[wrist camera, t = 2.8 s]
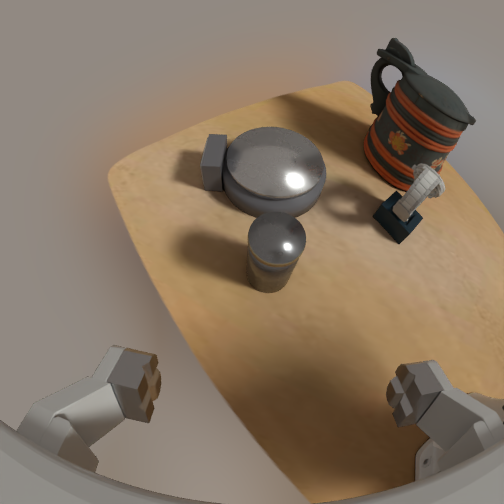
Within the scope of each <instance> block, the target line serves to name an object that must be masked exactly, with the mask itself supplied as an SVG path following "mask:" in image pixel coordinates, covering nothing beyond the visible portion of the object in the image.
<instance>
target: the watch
mask: <svg viewBox="0 0 504 504" xmlns="http://www.w3.org/2000/svg"><path fill="white" fill-rule="evenodd" d="M412 169H413V170H414V172H413V175H414V183H413V184H412V186H411V187H410V188H409V190H408V191H407V192H406V193H405V195H404V196H402V195H401V194H400V193H398V192H397V191H395V192H394V193H393V194H392V195H391V196H390V197H389V198H388V199H387V200H386V201H385V202H383V203H382V204H381V206H380V207H379V208H378V210H377V211H376V213H375V214H374V215H373V217H374V218H375V219H376V220H377V221H378V222H379V223H380V224H381V226H382V227H383V228H384V229H385V230H386V231H387V232H388V233H389V234H390V235H391V236H392V237H393V238H394V239H395V240H396V242H397V243H398V244H400V243H401V242H402V241H403V240H404V239H405V238H406V237H407V236H408V235H409V234H410V233H411V232H412V231H413V230H414V229H415V227H416V226H417V225H418V224H419V223H420V221H421V220H422V219H423V217H422V216H421V215H420V214H419V213H418V212H417V211H416V210H415V209H416V208H417V207H418V206H419V205H420V204H421V203H422V202H423V201H424V200H425V199H426V197H427V196H428V198H432V197H435V198H436V197H439V196H440V195H441V194H442V193H443V192H444V191H445V185H444V182H443V180H442V179H441V177H440V176H439V174H438V173H437V172H436V171H435V170H434V169H432V168H431V167H430V166H428V165H426V164H422V163H420V164H418V166H416V165H413V167H412Z"/></svg>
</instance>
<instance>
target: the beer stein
mask: <svg viewBox="0 0 504 504" xmlns="http://www.w3.org/2000/svg"><path fill="white" fill-rule="evenodd" d="M377 55H378V56H380V57H381V58H380V59H379V60H378V61H377V62H376V63H375V65H374V66H373V69H372V72H371V89H372V95H373V103H372V104H371V105H370V107H371V110H372V114H376V115H377V116H378V117H377V118H376V119H375V120H374V122H373V124H372V125H371V127H370V129H369V131H368V133H367V135H366V137H365V139H364V151H365V154H366V156H367V158H368V160H369V162H370V163H371V165H372V166H373V167H374V169H375V170H376V171H377V172H378V173H379V174H380V175H381V176H382V177H383V178H384V179H385V180H386V181H387V182H389V183H390V184H392V185H394V186H395V187H397V188H399V189H402V190H405V191H408V190H409V188H410V187H411V186H412V184H413V183H414V175H413V172H414V170H413V169H412V167H413V165H416V166H418V164H420V163H422V164H426V165H428V166H430V167H431V168H432V169H434V170H435V171H436V172H437V173H438V174H439V173H440V171H441V170H442V164H443V163H444V161H445V159H446V157H447V156H448V154H449V152H450V151H452V150H453V149H454V147H455V145H456V144H457V142H458V139H459V137H460V135H461V133H462V132H463V131H464V130H465V129H466V128H467V126H468V124H470V125H473V124H474V123H475V122H476V120H475V119H474V117H472V116H471V115H470V114H469V112H468V110H467V108H466V107H465V105H464V103H463V102H462V101H461V99H460V98H459V97H458V96H457V95H456V94H455V93H454V92H453V91H452V90H451V89H450V88H449V87H448V86H446V85H445V84H443V83H442V82H440V81H438V80H437V79H435V78H433V77H431V76H429V75H427V73H426V72H425V71H423V69H421V68H420V67H419V66H417V65H416V64H415V63H414V59H413V56H412V54H411V53H410V51H409V50H408V48H407V47H406V46H404V45H403V44H402V43H401V42H399V41H398V39H397V38H392V39H391V40H390V42H389V44H388V46H387V48H386V50H383V49H378V51H377ZM388 65H393V66H395V67H396V68H398V69H399V70H400V71H401V72H402V76H403V77H402V79H401V80H398V81H397V83H396V85H395V87H394V88H393V89H392V92H389V91H388V90H387V89H386V87H385V86H384V84H383V82H382V78H381V74H382V71H383V69H384V68H385V67H386V66H388Z"/></svg>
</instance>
